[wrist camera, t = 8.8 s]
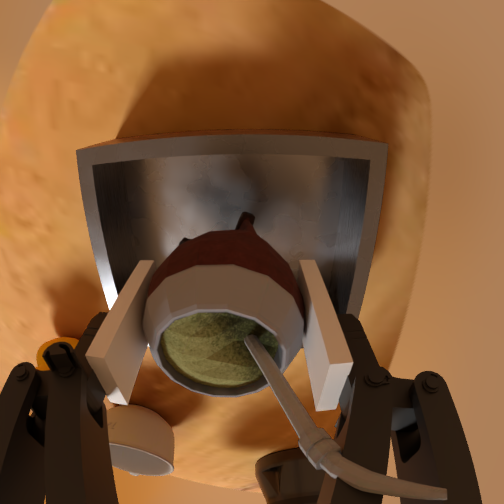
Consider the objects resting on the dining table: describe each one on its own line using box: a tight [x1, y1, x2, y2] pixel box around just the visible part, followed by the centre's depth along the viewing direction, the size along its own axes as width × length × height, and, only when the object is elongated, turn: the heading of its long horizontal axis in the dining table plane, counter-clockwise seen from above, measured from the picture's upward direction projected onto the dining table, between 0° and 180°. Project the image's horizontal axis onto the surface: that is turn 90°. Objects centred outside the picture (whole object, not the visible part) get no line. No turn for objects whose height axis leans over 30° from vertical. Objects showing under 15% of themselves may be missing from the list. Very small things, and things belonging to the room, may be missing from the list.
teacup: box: [107, 404, 174, 476], centre depth 31 cm, size 14×11×8 cm
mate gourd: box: [142, 212, 447, 500], centre depth 11 cm, size 8×8×15 cm
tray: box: [76, 129, 388, 348], centre depth 19 cm, size 14×17×6 cm
